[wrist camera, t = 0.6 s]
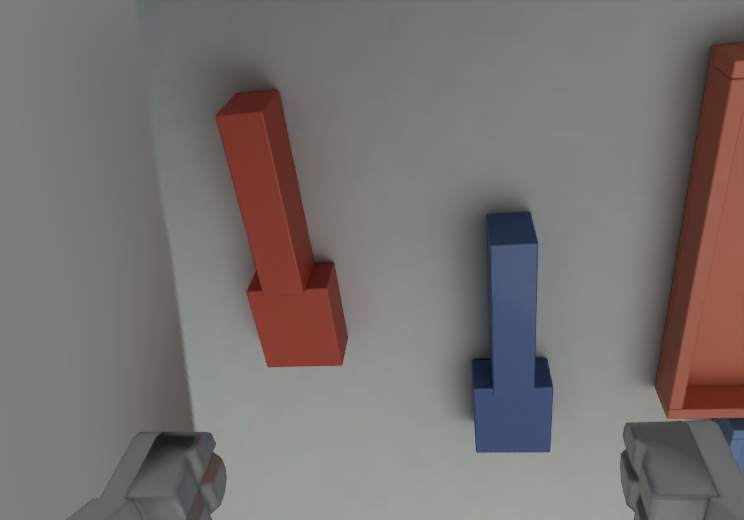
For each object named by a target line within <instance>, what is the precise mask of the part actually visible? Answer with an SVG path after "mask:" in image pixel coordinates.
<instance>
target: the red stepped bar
mask: <svg viewBox="0 0 744 520" xmlns="http://www.w3.org/2000/svg"><path fill="white" fill-rule="evenodd" d="M216 120H217V124H218V128H219V132H220V135H221V139H222V143H223V147H224V150H225V154H226V158H227V162H228V165H229V169H230V173H231V177H232V180H233V184H234V188H235V192H236V195H237V199H238V203H239V207H240V210H241V214H242V218H243V222H244V225H245V229H246V233H247V236H248V240H249V244H250V248H251V251H252V255H253V259H254V263H255V266H256V272H255V274H254V276H253V279H252V281H251V283H250V285H249V287H248V289H247V296H248V299H249V303H250V306H251V310H252V313H253V317H254V320H255V324H256V327H257V331H258V334H259V338H260V341H261V345H262V348H263V352H264V355H265V359H266V363H267V366H268V367H295V366H337V365H342V364H343V359H344V354H345V349H346V345H347V340H348V336H347V330H346V325H345V319H344V314H343V309H342V303H341V298H340V292H339V287H338V282H337V276H336V271H335V265H334V263H324V264H314V260H313V255H312V250H311V245H310V240H309V235H308V230H307V226H306V221H305V216H304V211H303V206H302V201H301V196H300V191H299V187H298V182H297V177H296V172H295V167H294V162H293V157H292V152H291V148H290V143H289V138H288V133H287V128H286V123H285V118H284V114H283V109H282V104H281V99H280V94H279V91H278V90H271V91H260V92H249V93H239V94H235V95H234V96H233V97H232V98H231V99H230V100H229V101H228V102H227V103H226V104H225V106H224V107H223V108H222V109H221V110H220V111H219V112H218V113H217V114H216Z"/></svg>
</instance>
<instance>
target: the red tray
mask: <svg viewBox="0 0 744 520" xmlns="http://www.w3.org/2000/svg"><path fill="white" fill-rule="evenodd" d="M655 389H656V392H657V394H658V397H659V399H660V402H661V404H662V407H663V409H664V412H665V414H666V417H667V418H668V419H672V418H744V43H735V44H725V45H714V46H713V47H712V51H711V57H710V63H709V69H708V75H707V81H706V87H705V93H704V99H703V105H702V111H701V117H700V123H699V128H698V134H697V140H696V146H695V152H694V158H693V164H692V170H691V176H690V182H689V188H688V194H687V200H686V206H685V212H684V218H683V224H682V230H681V236H680V242H679V248H678V254H677V260H676V266H675V272H674V277H673V283H672V289H671V295H670V301H669V307H668V313H667V319H666V325H665V331H664V337H663V343H662V349H661V355H660V361H659V367H658V373H657V379H656V385H655Z"/></svg>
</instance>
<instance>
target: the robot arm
mask: <svg viewBox="0 0 744 520" xmlns="http://www.w3.org/2000/svg"><path fill="white" fill-rule="evenodd" d="M623 439H624V443H625V446H626V449H625V450H624V451H623V452H622V453H621V460H620V472H621V482H622V488H623V493H624V496H625V500H626V504H627V505H628V506H629V507H630V508H631V509H632V510H633V511H634V512H635V516H634V520H744V475H743V473H742V471H741V469H740V467H739V465H738V463H737V461H736V459H735V457H734V455H733V453H732V451H731V449H730V447H729V445H728V443H727V441H726V439H725V437H724V435H723V433H722V431H721V429H720V427H719V425H718V424H717V423H716V422H714V421H684V422H682V421H669V422H638V423H626V424H625V427H624V432H623ZM215 445H216V443H215V441H214V438H213V436H212V434H211V433H208V432H140V433H138V434H137V435H136V436H135V437H134V438H133V439H132V441H131V443H130V445H129V446H128V448H127V450H126V452H125V454H124V455H123V457H122V459H121V461H120V463H119V465H118V467H117V468H116V470H115V472H114V474H113V475H112V477H111V479H110V481H109V483H108V484H107V486H106V488H105V490H104V492H103V493H102V495H101V497H100V499H92V500H91V501H90V502H88V503H87V504H86V505H85V506H83V507H82V508H81V509H79V510H78V511H77V512H75V513H74V514H73V515H72V516H70V517H69V518H68V519H66V520H212V518H211V516H210V514H211V513H212V512H214V511H215V510H216V509H217V508H218V507H219V506H220V505H221V503H222V500H223V497H224V494H225V487H226V478H227V477H226V470H225V465H224V463H223V460H222V458H221V457H219V456H218V455H216V454H215V453H214V452H213V450H214V448H215Z"/></svg>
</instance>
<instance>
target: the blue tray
mask: <svg viewBox="0 0 744 520" xmlns="http://www.w3.org/2000/svg"><path fill="white" fill-rule="evenodd" d="M713 421H714V422H716V423H717V424H718V425H719V427H720V429H721V431H722V433H723V435H724V437H725V439H726V441H727V443H728V445H729V447H730V449H731V451H732V453H733V455H734V457H735V459H736V461H737V463H738V465H739V467H740V469H741V471H742V473H743V475H744V418H714V419H713Z"/></svg>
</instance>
